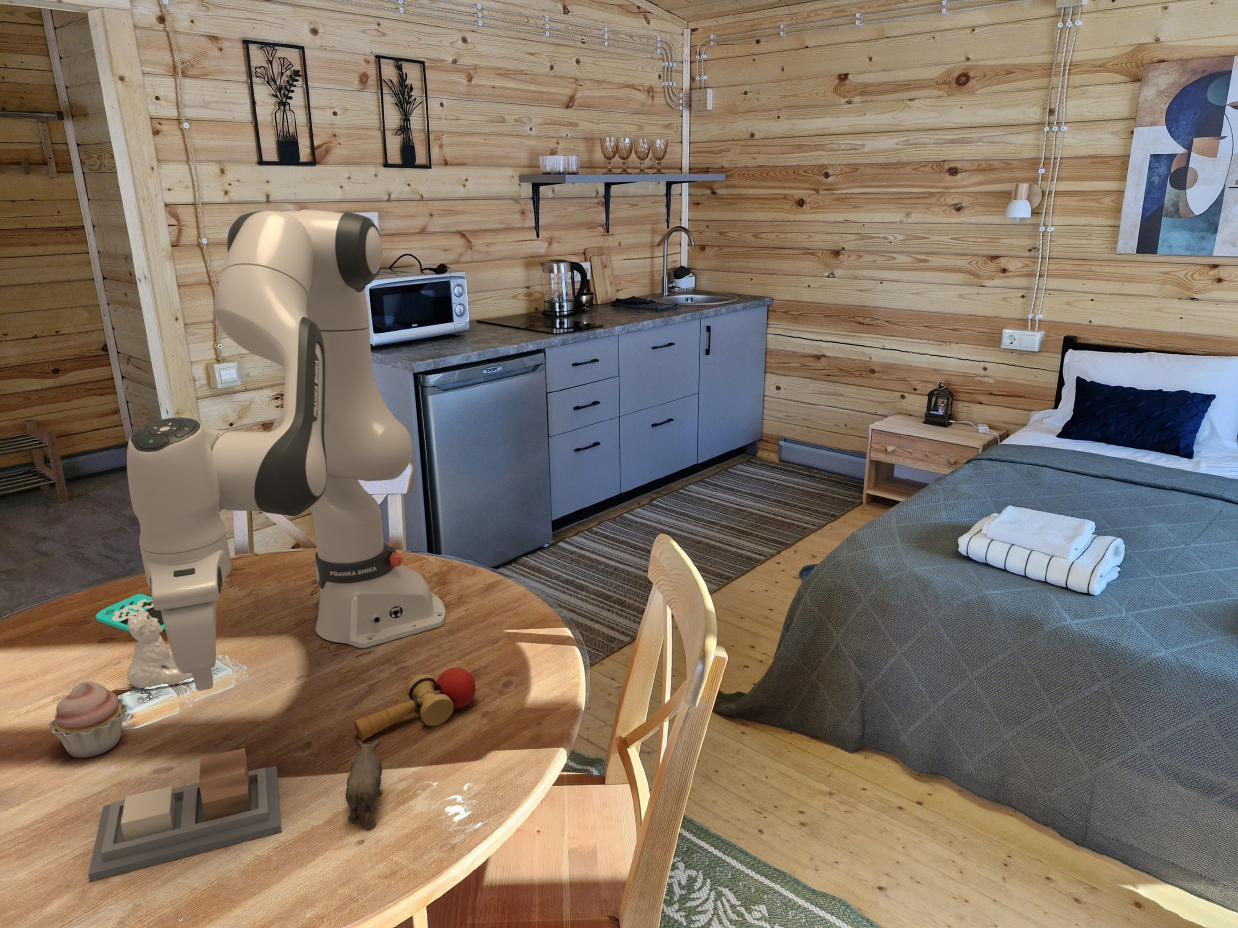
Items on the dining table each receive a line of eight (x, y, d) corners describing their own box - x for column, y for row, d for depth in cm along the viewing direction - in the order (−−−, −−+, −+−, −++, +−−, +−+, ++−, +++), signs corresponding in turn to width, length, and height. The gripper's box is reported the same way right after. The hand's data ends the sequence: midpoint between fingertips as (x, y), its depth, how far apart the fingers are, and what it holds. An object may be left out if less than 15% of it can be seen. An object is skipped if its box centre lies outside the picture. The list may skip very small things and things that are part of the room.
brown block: (207, 798, 106) (200, 757, 104) (250, 787, 108) (244, 748, 106) (206, 824, 102) (199, 782, 100) (251, 813, 104) (244, 771, 102)
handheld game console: (141, 598, 162) (140, 591, 161) (199, 616, 155) (198, 609, 154) (90, 620, 153) (88, 613, 153) (149, 641, 146) (147, 634, 146)
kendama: (373, 763, 117) (489, 705, 126) (360, 723, 115) (478, 667, 124) (356, 743, 123) (467, 689, 132) (344, 705, 122) (457, 653, 131)
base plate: (277, 772, 113) (273, 746, 111) (281, 831, 102) (277, 804, 101) (104, 812, 105) (98, 785, 104) (89, 881, 95) (83, 852, 93)
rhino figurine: (388, 758, 116) (385, 720, 114) (380, 829, 103) (376, 788, 101) (357, 762, 115) (353, 724, 113) (344, 833, 102) (340, 792, 100)
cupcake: (77, 775, 112) (63, 709, 109) (42, 751, 117) (27, 687, 113) (147, 738, 119) (135, 676, 116) (111, 717, 124) (98, 657, 121)
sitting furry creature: (200, 680, 134) (189, 612, 130) (141, 703, 128) (128, 632, 124) (177, 658, 140) (165, 593, 136) (119, 679, 134) (106, 611, 130)
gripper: (162, 532, 105) (180, 631, 109) (150, 604, 87) (172, 718, 92) (218, 524, 107) (233, 621, 112) (217, 593, 90) (235, 705, 94)
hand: (206, 666), depth 102 cm, fingers open, 8 cm apart
